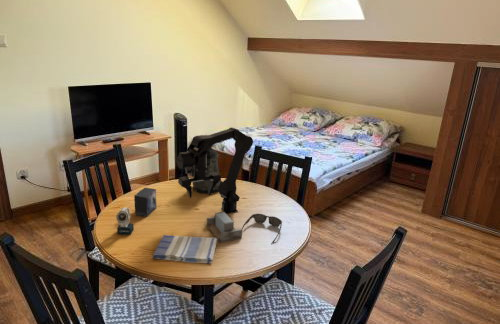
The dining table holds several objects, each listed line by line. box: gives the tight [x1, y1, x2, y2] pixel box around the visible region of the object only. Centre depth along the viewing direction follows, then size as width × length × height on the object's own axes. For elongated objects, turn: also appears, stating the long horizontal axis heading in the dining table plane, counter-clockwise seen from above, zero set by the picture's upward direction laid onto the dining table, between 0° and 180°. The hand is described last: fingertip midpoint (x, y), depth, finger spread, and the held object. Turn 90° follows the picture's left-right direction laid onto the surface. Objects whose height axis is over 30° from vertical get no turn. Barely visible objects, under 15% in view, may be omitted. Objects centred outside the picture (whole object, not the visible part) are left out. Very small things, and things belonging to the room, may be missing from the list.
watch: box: [115, 207, 135, 236], centre depth 147 cm, size 6×8×11 cm
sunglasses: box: [241, 213, 283, 245], centre depth 155 cm, size 16×17×5 cm
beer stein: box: [192, 146, 222, 195], centre depth 194 cm, size 16×19×25 cm
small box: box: [133, 187, 157, 218], centre depth 166 cm, size 11×6×10 cm, turn 168°
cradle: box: [206, 213, 243, 244], centre depth 153 cm, size 10×16×4 cm, turn 28°
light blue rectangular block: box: [214, 211, 235, 233], centre depth 152 cm, size 4×11×6 cm, turn 28°
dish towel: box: [152, 234, 218, 264], centre depth 138 cm, size 17×24×3 cm
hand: (199, 196), depth 159 cm, fingers open, 9 cm apart
